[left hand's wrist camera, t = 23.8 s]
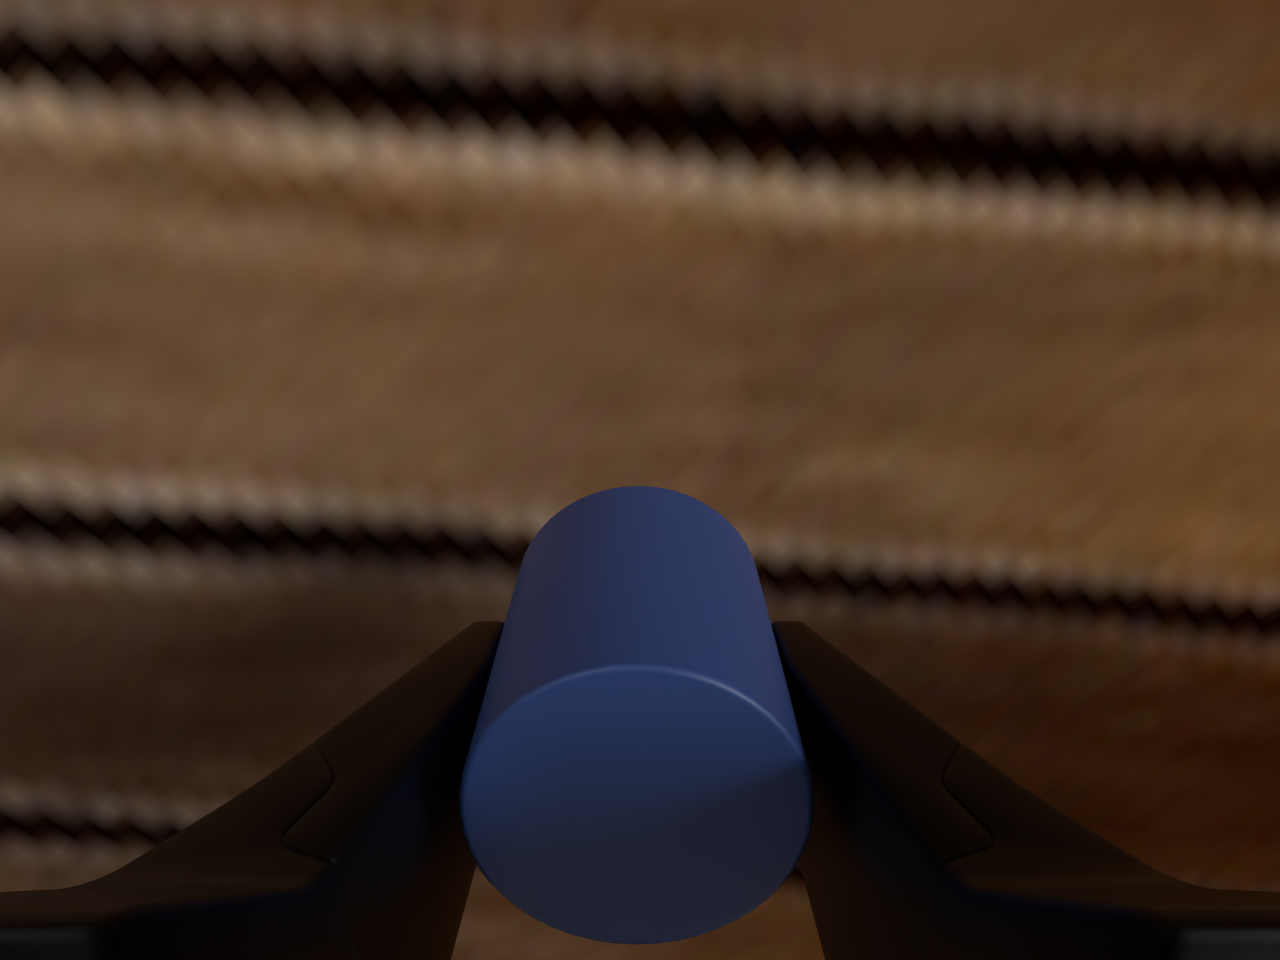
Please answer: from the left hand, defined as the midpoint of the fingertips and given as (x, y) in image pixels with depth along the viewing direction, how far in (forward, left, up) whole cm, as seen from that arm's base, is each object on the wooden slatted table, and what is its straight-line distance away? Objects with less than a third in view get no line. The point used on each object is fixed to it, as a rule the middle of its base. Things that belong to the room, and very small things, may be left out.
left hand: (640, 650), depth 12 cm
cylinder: (0, 0, -1) cm, 1 cm away
